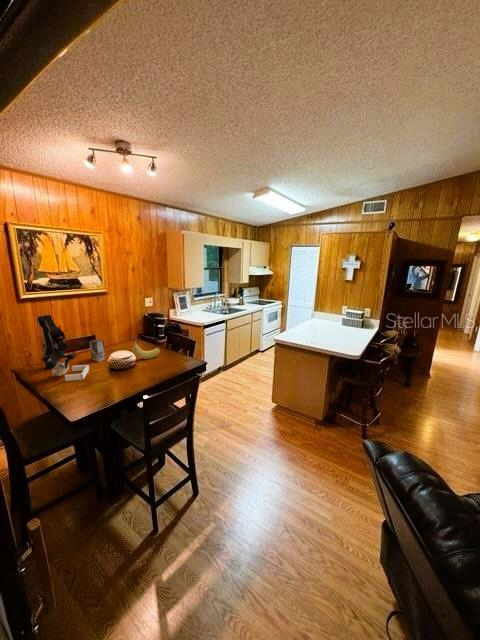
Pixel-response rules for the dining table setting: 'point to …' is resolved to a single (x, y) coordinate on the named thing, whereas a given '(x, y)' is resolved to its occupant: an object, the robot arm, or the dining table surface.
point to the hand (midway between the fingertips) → (60, 368)
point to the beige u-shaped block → (78, 376)
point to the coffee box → (97, 350)
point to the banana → (144, 354)
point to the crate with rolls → (60, 369)
